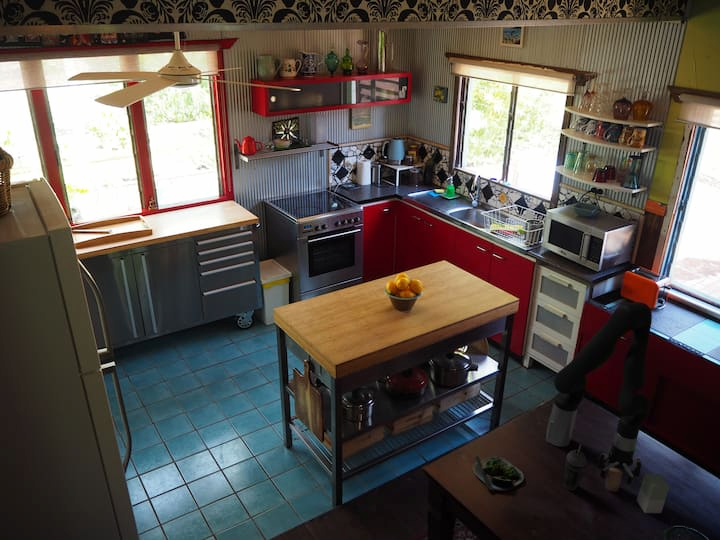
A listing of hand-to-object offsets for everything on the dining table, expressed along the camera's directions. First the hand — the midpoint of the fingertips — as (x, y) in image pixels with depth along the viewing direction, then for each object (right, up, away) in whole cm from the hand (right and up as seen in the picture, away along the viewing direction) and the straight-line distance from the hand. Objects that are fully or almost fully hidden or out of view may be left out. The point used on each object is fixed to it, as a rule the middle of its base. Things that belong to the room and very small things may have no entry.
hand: (615, 480), depth 221 cm
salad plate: (-42, 0, +4) cm, 43 cm away
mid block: (+10, -2, -9) cm, 13 cm away
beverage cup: (-16, -3, +1) cm, 17 cm away
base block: (+9, -7, -7) cm, 13 cm away
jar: (-1, -3, +2) cm, 4 cm away
